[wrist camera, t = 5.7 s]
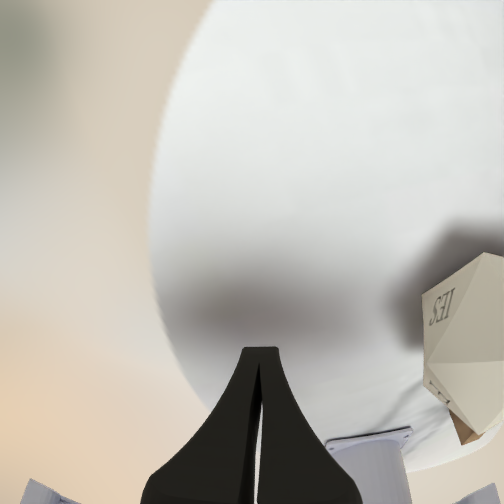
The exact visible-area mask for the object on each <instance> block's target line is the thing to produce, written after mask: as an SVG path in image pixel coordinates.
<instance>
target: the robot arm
mask: <svg viewBox="0 0 504 504" xmlns="http://www.w3.org/2000/svg"><path fill="white" fill-rule="evenodd" d="M261 405H263V420H262V439H261V455H260V469H259V483H258V493H257V503H258V504H412V500H411V494H410V489H409V485H408V480H407V475H406V470H405V466H404V462H403V457H402V453H401V448H402V447H403V445H404V444H405V443H406V441H407V440H408V438H409V437H410V436H411V434H412V433H413V430H412V428H407V429H402V430H397V431H392V432H387V433H382V434H376V435H370V436H364V437H357V438H350V439H342V440H333V441H329V442H327V444H326V447H324V446H323V444H322V443H321V442H320V440H319V439H318V438H317V436H316V435H315V433H314V432H313V430H312V429H311V427H310V425H309V424H308V422H307V420H306V419H305V417H304V415H303V414H302V412H301V410H300V408H299V406H298V404H297V402H296V400H295V398H294V396H293V394H292V392H291V389H290V387H289V384H288V382H287V379H286V377H285V374H284V371H283V368H282V364H281V361H280V356H279V348H277V347H276V346H273V347H244V348H243V349H242V352H241V356H240V358H239V361H238V364H237V366H236V369H235V371H234V373H233V375H232V377H231V379H230V381H229V383H228V385H227V387H226V389H225V391H224V393H223V394H222V396H221V398H220V400H219V401H218V403H217V405H216V406H215V408H214V409H213V411H212V412H211V414H210V415H209V417H208V418H207V419H206V421H205V422H204V423H203V425H202V426H201V427H200V428H199V430H198V431H197V432H196V433H195V434H194V436H193V437H192V438H191V439H190V440H189V441H188V442H187V444H186V445H185V446H184V447H183V448H182V449H181V450H180V451H179V452H178V453H177V454H175V455H174V456H173V457H172V458H171V459H170V460H169V461H168V462H167V463H166V464H164V465H163V466H162V467H161V468H160V469H158V470H157V471H156V472H155V473H153V474H152V475H151V476H150V477H149V479H148V481H147V483H146V486H145V488H144V490H143V493H142V498H141V503H140V504H254V486H255V454H256V444H257V436H258V429H259V421H260V413H261ZM20 504H80V503H78V502H75V501H73V500H70V499H68V498H66V497H63V496H61V495H60V494H59V493H57V492H56V491H54V490H53V489H51V488H49V487H47V486H45V485H43V484H41V483H39V482H37V481H35V480H33V479H29V482H28V485H27V487H26V490H25V492H24V495H23V497H22V500H21V503H20ZM453 504H500V500H499V497H498V493H497V489H496V486H495V483H491V484H490V485H487V486H486V487H483V488H481V489H479V490H477V491H475V492H473V493H471V494H469V495H467V496H466V497H464V498H463V499H461V500H460V501H458V502H456V503H453Z"/></svg>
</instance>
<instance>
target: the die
mask: <svg viewBox="0 0 504 504" xmlns="http://www.w3.org/2000/svg"><path fill="white" fill-rule="evenodd" d="M422 309H423V325H424V329H423V333H424V372H423V386H424V387H426V388H427V389H428V390H429V391H430V392H431V393H432V394H433V395H435V396H436V397H437V398H438V399H439V400H440V401H441V402H442V403H443V404H445V405H446V406H447V407H448V408H449V409H450V410H451V411H452V412H453V413H455V414H456V415H457V416H458V417H459V418H460V419H461V420H462V421H463V422H464V423H466V424H467V425H468V426H469V427H470V428H471V429H472V430H473V431H474V432H475V433H477V434H478V435H480V434H482V433H484V432H485V431H487V430H489V429H491V428H492V427H494V426H496V425H497V424H499V423H500V422H502V421H503V420H504V257H502V256H498V255H494V254H490V253H485V252H483V253H482V254H481V255H479V256H478V257H477V258H475V259H474V260H472V261H471V262H470V263H468V264H467V265H465V266H464V267H463V268H461V269H460V270H458V271H457V272H455V273H454V274H453V275H451V276H450V277H448V278H447V279H445V280H444V281H442V282H441V283H439V284H438V285H436V286H435V287H433V288H431V289H430V290H428V291H427V292H425V293H424V294H422Z"/></svg>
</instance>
